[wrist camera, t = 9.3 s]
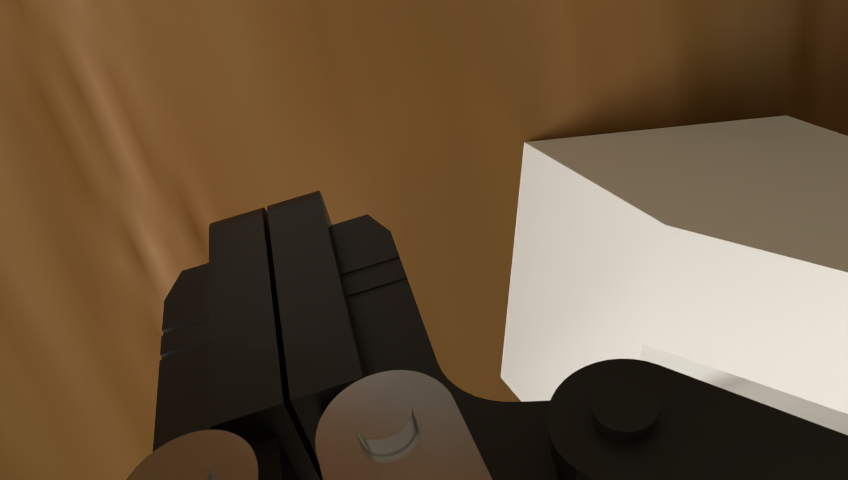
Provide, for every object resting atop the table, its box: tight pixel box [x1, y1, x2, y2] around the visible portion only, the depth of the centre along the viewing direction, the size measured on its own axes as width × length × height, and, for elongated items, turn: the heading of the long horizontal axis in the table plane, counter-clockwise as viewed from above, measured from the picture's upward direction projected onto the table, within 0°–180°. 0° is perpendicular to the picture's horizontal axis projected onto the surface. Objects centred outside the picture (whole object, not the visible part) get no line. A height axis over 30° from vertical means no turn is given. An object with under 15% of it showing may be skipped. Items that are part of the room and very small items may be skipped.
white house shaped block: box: [501, 115, 848, 435], centre depth 36 cm, size 19×15×25 cm
